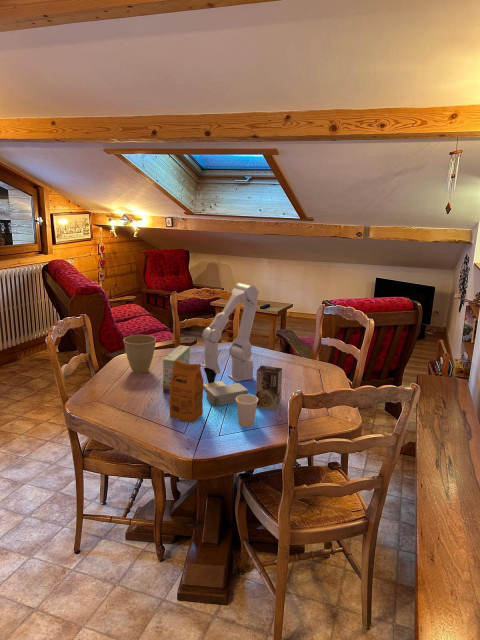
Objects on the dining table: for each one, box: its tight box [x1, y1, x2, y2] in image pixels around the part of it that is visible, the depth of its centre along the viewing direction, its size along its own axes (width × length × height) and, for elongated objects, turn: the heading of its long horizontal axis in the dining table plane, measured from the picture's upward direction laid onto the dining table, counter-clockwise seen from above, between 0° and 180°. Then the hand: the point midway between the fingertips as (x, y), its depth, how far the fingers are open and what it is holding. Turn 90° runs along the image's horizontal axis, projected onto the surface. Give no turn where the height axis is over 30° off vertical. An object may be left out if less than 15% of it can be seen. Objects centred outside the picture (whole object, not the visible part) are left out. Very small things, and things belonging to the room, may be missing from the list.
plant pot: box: [123, 334, 157, 374], centre depth 218 cm, size 15×15×16 cm
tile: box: [203, 380, 227, 393], centre depth 199 cm, size 9×13×2 cm
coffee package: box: [168, 360, 204, 424], centre depth 173 cm, size 10×12×22 cm
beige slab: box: [206, 382, 249, 407], centre depth 191 cm, size 15×8×4 cm, turn 118°
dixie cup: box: [235, 393, 258, 428], centre depth 170 cm, size 8×8×10 cm
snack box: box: [162, 345, 191, 394], centre depth 204 cm, size 21×6×15 cm, turn 168°
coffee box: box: [255, 365, 283, 412], centre depth 184 cm, size 9×6×16 cm
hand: (210, 383), depth 205 cm, fingers closed
